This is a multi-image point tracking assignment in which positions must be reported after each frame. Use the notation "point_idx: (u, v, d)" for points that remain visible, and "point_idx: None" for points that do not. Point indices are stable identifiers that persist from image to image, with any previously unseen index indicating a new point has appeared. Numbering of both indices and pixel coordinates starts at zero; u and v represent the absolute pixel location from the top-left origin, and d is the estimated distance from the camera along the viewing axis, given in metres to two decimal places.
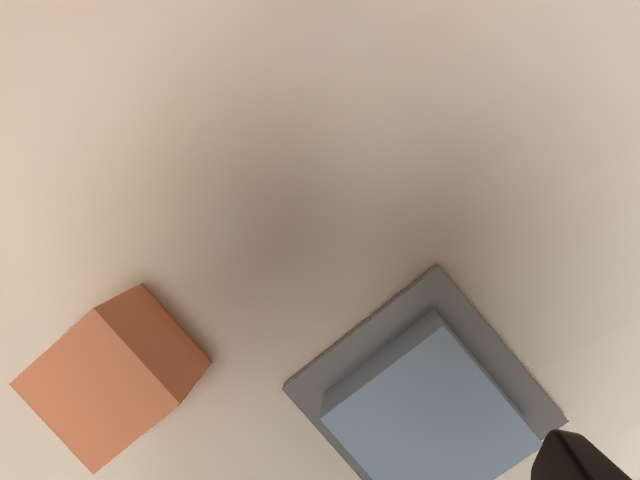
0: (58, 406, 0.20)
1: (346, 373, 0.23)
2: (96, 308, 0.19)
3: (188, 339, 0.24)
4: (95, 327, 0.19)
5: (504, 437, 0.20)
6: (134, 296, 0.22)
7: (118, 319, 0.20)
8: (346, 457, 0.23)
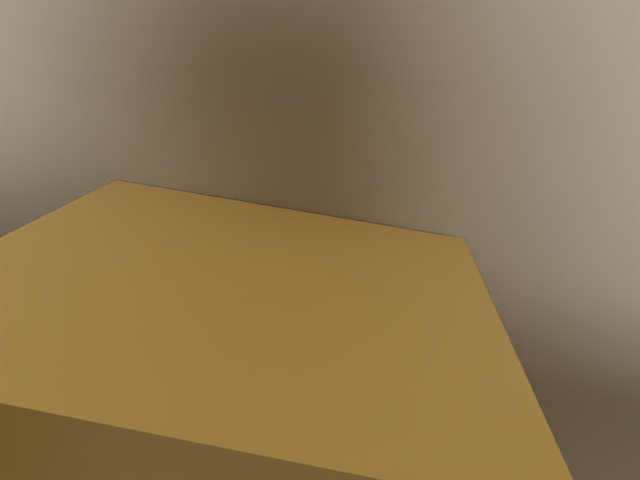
0: None
1: None
2: None
3: None
4: None
5: None
6: None
7: None
8: None
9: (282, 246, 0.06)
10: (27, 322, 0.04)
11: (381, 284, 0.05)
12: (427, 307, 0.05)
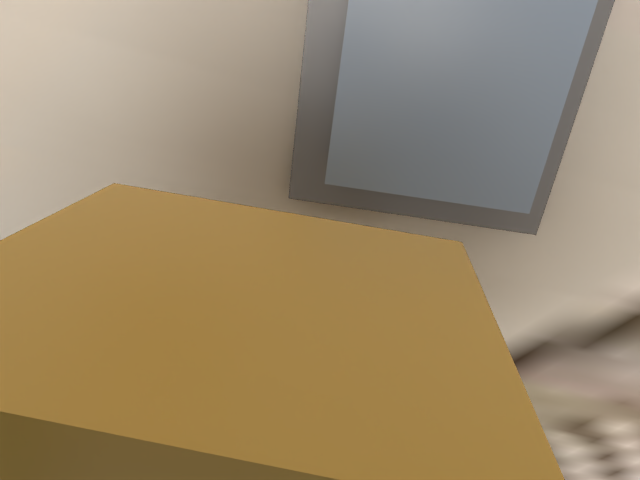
0: None
1: None
2: None
3: None
4: None
5: (507, 170, 0.15)
6: None
7: None
8: (306, 65, 0.16)
9: (279, 250, 0.06)
10: (24, 328, 0.04)
11: (378, 289, 0.05)
12: (424, 313, 0.05)
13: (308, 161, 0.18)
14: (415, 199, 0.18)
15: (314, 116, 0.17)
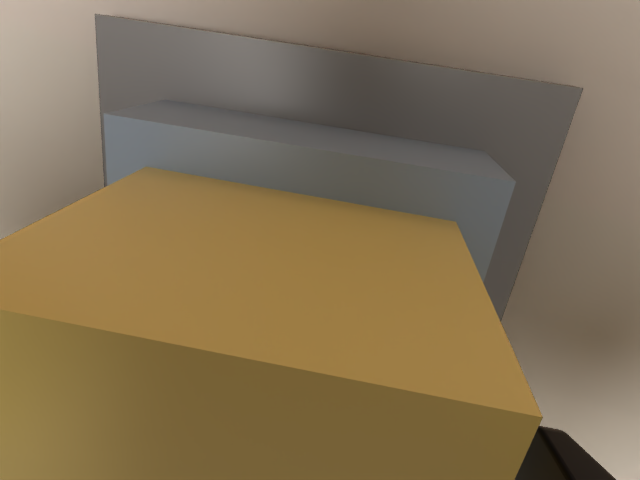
0: None
1: (235, 105, 0.10)
2: None
3: None
4: None
5: None
6: None
7: None
8: None
9: (297, 223, 0.07)
10: (96, 273, 0.05)
11: (383, 255, 0.06)
12: (421, 273, 0.06)
13: None
14: None
15: None
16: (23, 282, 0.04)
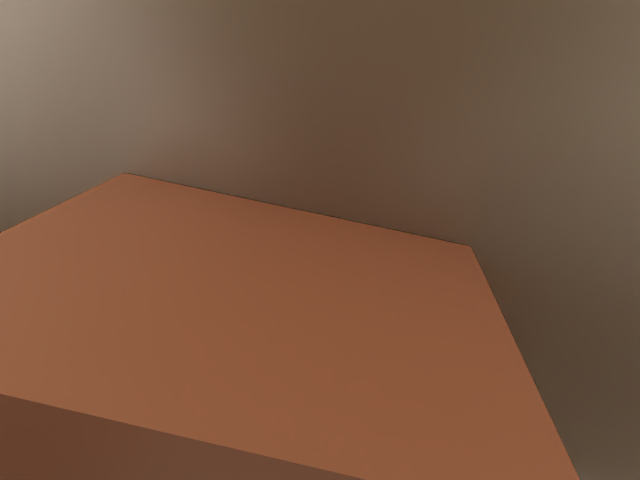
0: None
1: None
2: None
3: None
4: None
5: None
6: None
7: None
8: None
9: None
10: None
11: None
12: None
13: None
14: None
15: None
16: None
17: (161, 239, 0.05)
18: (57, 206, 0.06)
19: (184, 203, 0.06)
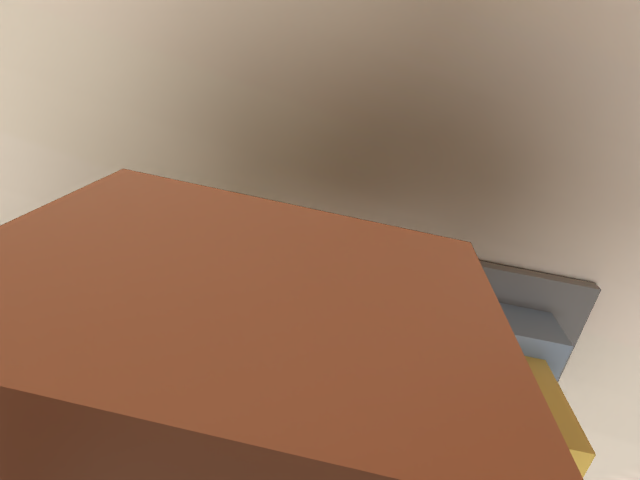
0: None
1: None
2: None
3: None
4: None
5: None
6: None
7: None
8: None
9: None
10: None
11: None
12: (544, 396, 0.16)
13: None
14: None
15: None
16: None
17: (159, 233, 0.05)
18: (55, 201, 0.06)
19: (183, 199, 0.06)
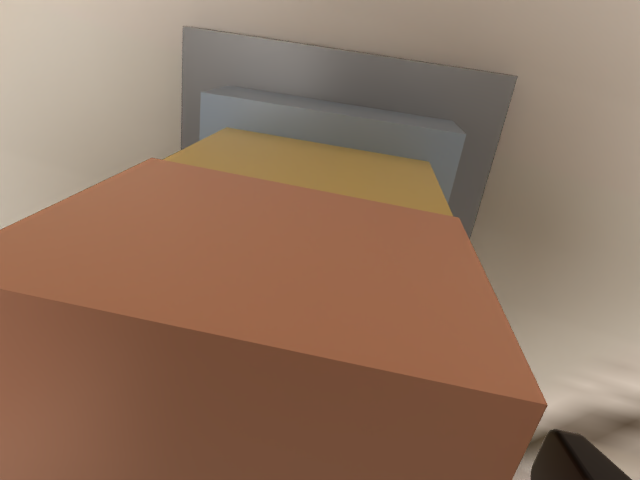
0: (51, 472, 0.05)
1: (279, 89, 0.14)
2: None
3: None
4: (458, 451, 0.04)
5: None
6: None
7: None
8: None
9: (329, 156, 0.11)
10: (231, 167, 0.09)
11: (381, 171, 0.10)
12: (404, 179, 0.10)
13: None
14: None
15: None
16: None
17: (190, 208, 0.06)
18: (101, 183, 0.07)
19: (207, 182, 0.07)
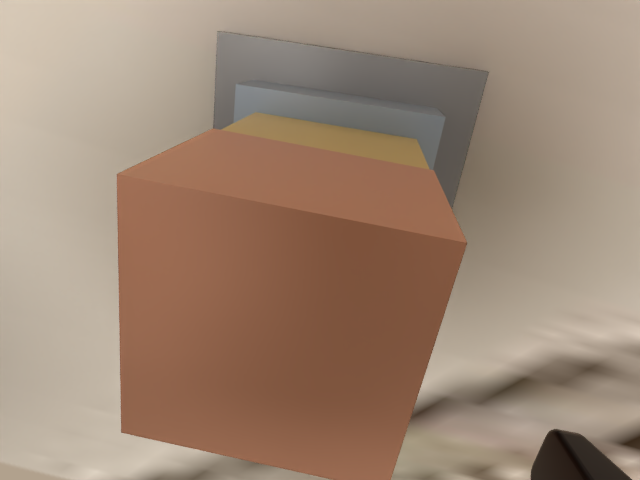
0: (178, 306, 0.08)
1: (295, 82, 0.17)
2: (464, 243, 0.07)
3: None
4: (420, 275, 0.07)
5: None
6: None
7: None
8: None
9: (338, 133, 0.14)
10: (268, 137, 0.12)
11: (378, 143, 0.13)
12: (396, 148, 0.13)
13: None
14: None
15: None
16: None
17: (250, 155, 0.09)
18: (188, 140, 0.10)
19: (256, 143, 0.11)
